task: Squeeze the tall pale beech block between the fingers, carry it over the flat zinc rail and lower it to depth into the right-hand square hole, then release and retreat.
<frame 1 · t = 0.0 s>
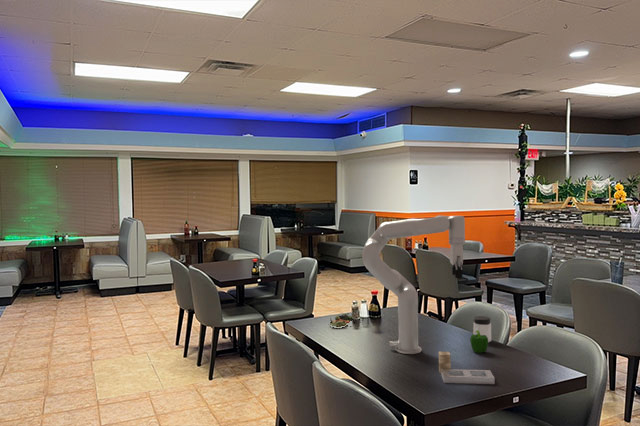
hand: (457, 276, 245), 37 cm above the table, tool pointing down, fingers open, 9 cm apart
plated dish: (345, 325, 303), on the table
rail: (467, 379, 209), on the table
jar: (482, 341, 263), on the table
bell pepper: (479, 352, 245), on the table
beech block: (444, 371, 219), on the table
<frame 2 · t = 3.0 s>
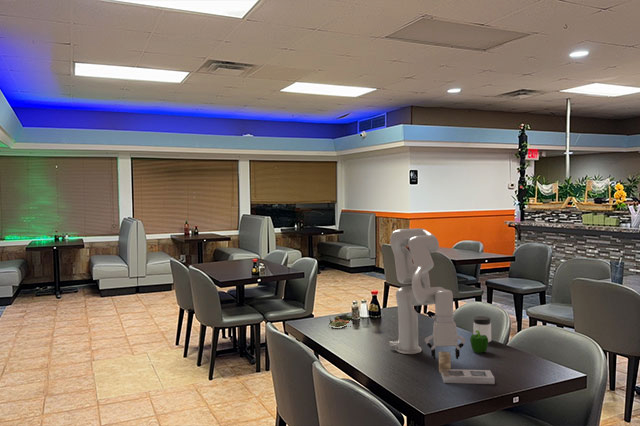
hand: (445, 358, 218), 6 cm above the table, tool pointing down, fingers open, 9 cm apart
nothing on the table moved.
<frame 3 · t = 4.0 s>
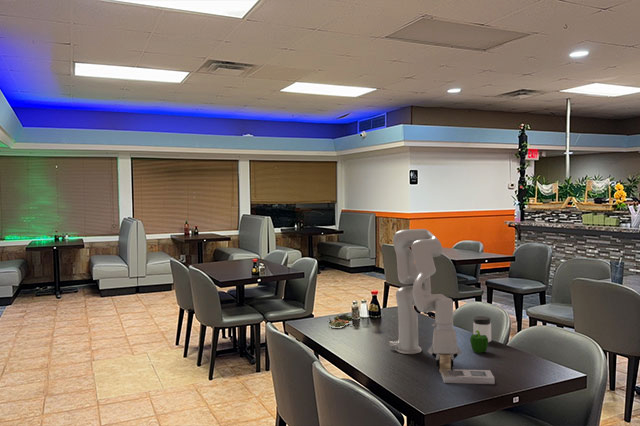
hand: (444, 367, 218), 2 cm above the table, tool pointing down, fingers closed on beech block, 4 cm apart
beech block: (444, 371, 219), on the table, touching gripper
everything else where it was.
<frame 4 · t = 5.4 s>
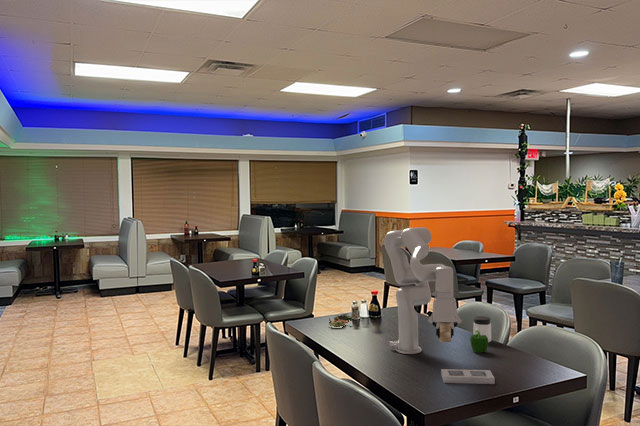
hand: (444, 336, 218), 15 cm above the table, tool pointing down, fingers closed on beech block, 4 cm apart
beech block: (444, 340, 218), point 14 cm above the table, touching gripper
everything else where it was.
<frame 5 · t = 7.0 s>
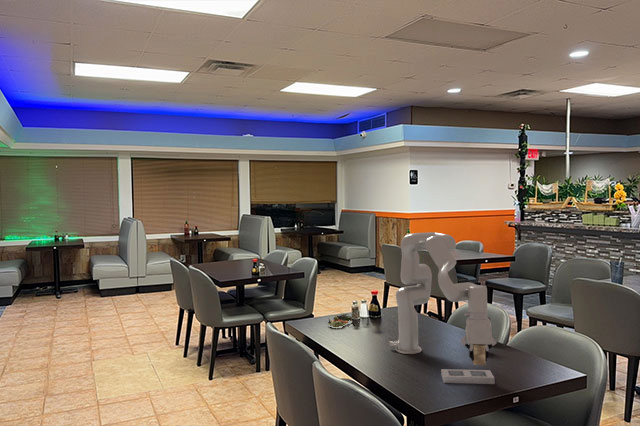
hand: (478, 359, 208), 9 cm above the table, tool pointing down, fingers closed on beech block, 4 cm apart
beech block: (478, 363, 208), point 7 cm above the table, touching gripper
when the fingers open (3 cm above the table, at t = 8.3 s): beech block drops 2 cm, resting in rail.
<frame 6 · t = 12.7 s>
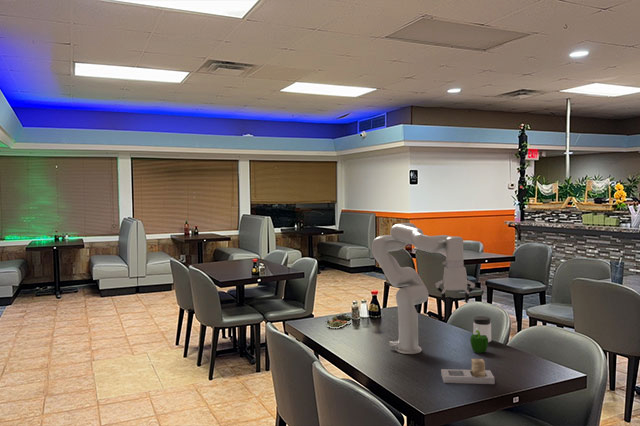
hand: (455, 302, 226), 28 cm above the table, tool pointing down, fingers open, 9 cm apart
beech block: (478, 379, 208), resting in rail
at the end: beech block 0.0 cm from the target spot on the rail, point 0.0 cm above the rail's base; beech block tilted 0°; the gripper is holding nothing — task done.
